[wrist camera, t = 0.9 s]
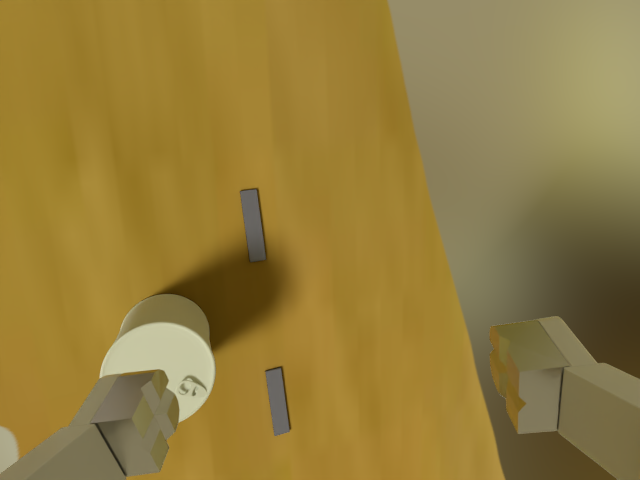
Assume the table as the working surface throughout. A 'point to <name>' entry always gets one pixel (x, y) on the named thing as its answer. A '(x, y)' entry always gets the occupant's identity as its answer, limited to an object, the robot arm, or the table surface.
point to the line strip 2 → (277, 401)
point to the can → (167, 348)
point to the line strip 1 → (253, 225)
